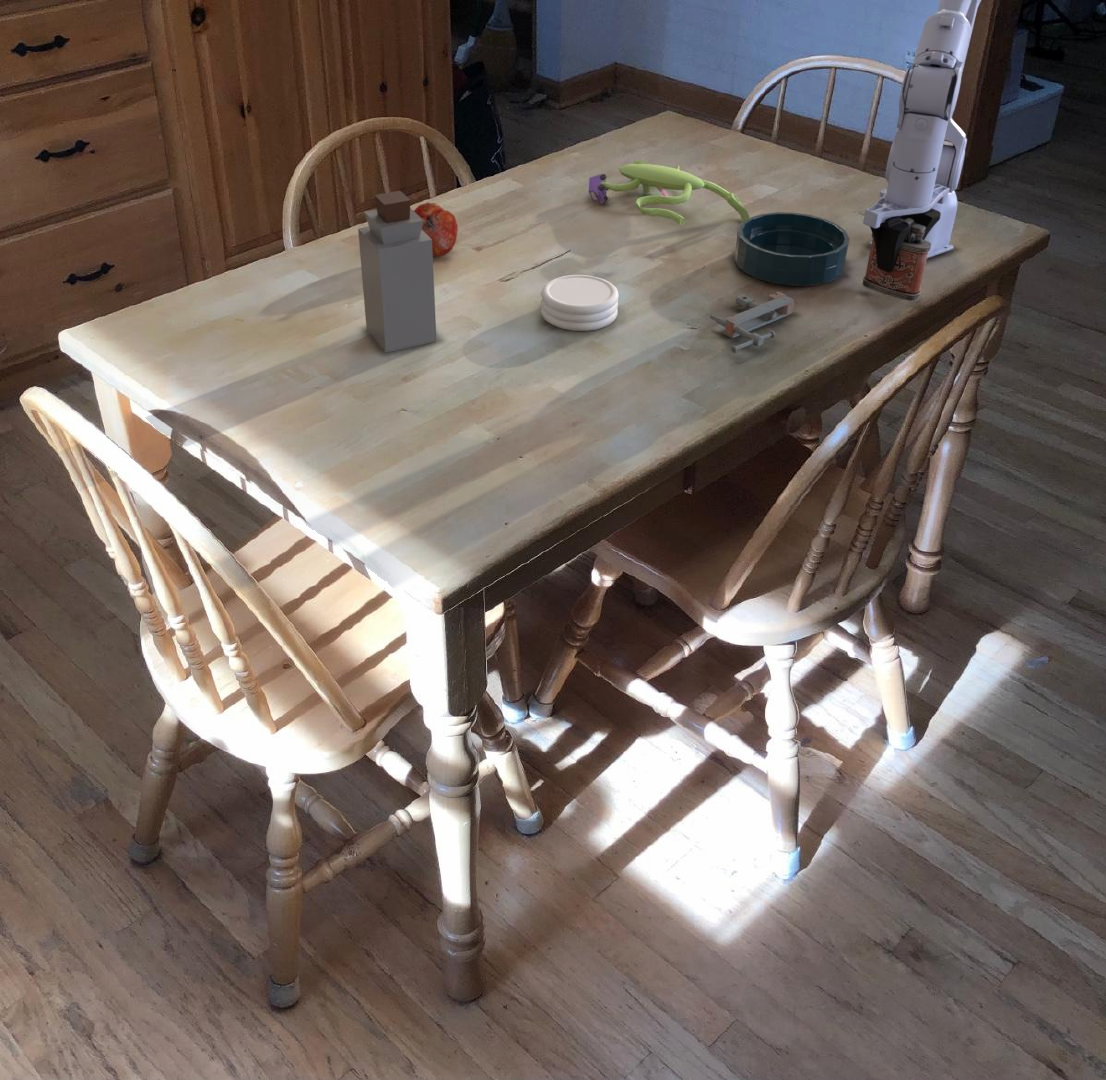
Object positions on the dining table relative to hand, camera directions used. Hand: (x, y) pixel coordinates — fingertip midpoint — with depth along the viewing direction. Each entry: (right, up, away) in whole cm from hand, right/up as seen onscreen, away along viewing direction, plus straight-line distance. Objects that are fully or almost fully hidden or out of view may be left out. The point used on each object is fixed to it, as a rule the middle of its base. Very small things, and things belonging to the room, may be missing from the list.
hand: (894, 265), depth 162 cm
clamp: (-20, -9, -5) cm, 23 cm away
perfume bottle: (-65, -11, -8) cm, 66 cm away
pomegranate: (-63, +4, +12) cm, 64 cm away
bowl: (-12, +3, +10) cm, 16 cm away
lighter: (0, -3, +2) cm, 4 cm away
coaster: (-42, -7, -3) cm, 43 cm away
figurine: (-28, +14, +26) cm, 41 cm away
